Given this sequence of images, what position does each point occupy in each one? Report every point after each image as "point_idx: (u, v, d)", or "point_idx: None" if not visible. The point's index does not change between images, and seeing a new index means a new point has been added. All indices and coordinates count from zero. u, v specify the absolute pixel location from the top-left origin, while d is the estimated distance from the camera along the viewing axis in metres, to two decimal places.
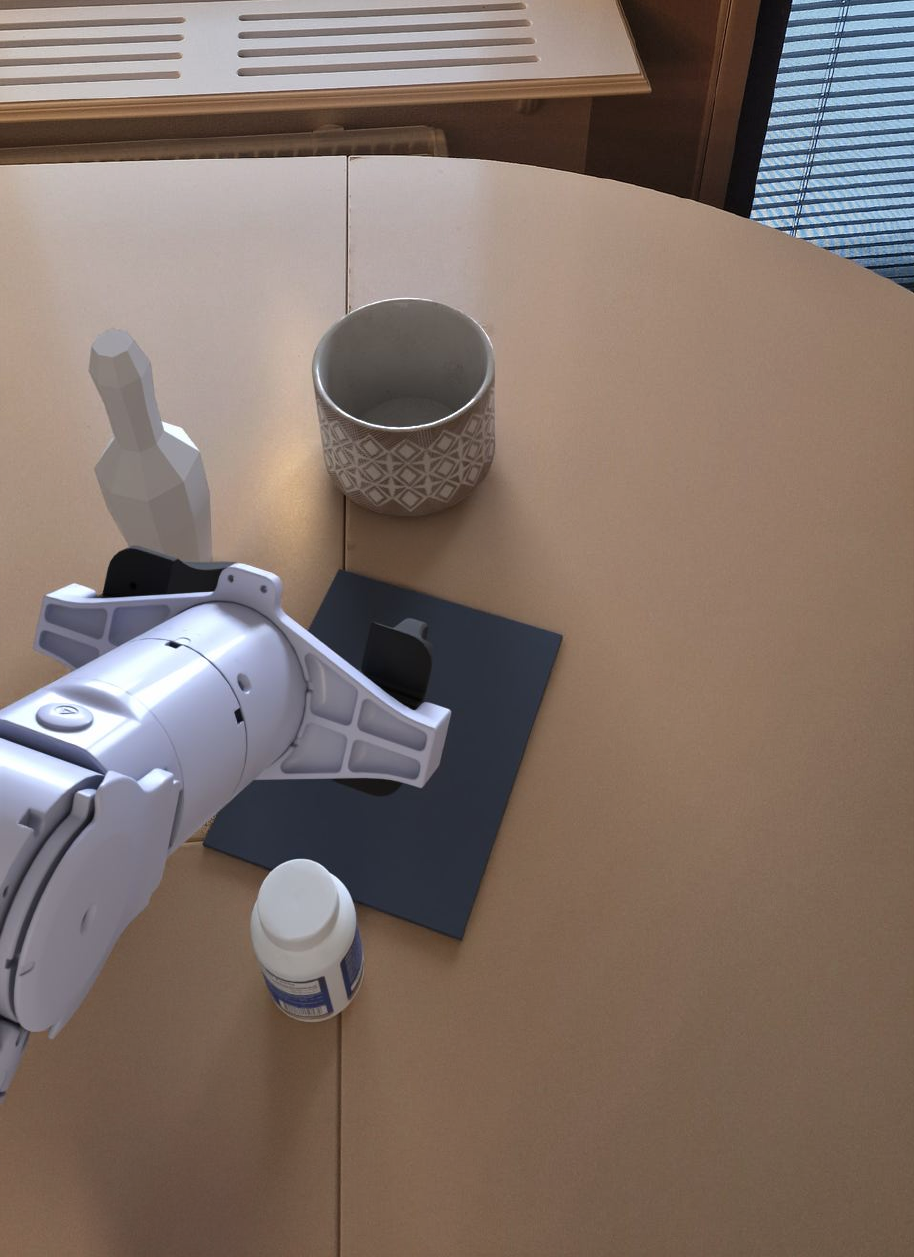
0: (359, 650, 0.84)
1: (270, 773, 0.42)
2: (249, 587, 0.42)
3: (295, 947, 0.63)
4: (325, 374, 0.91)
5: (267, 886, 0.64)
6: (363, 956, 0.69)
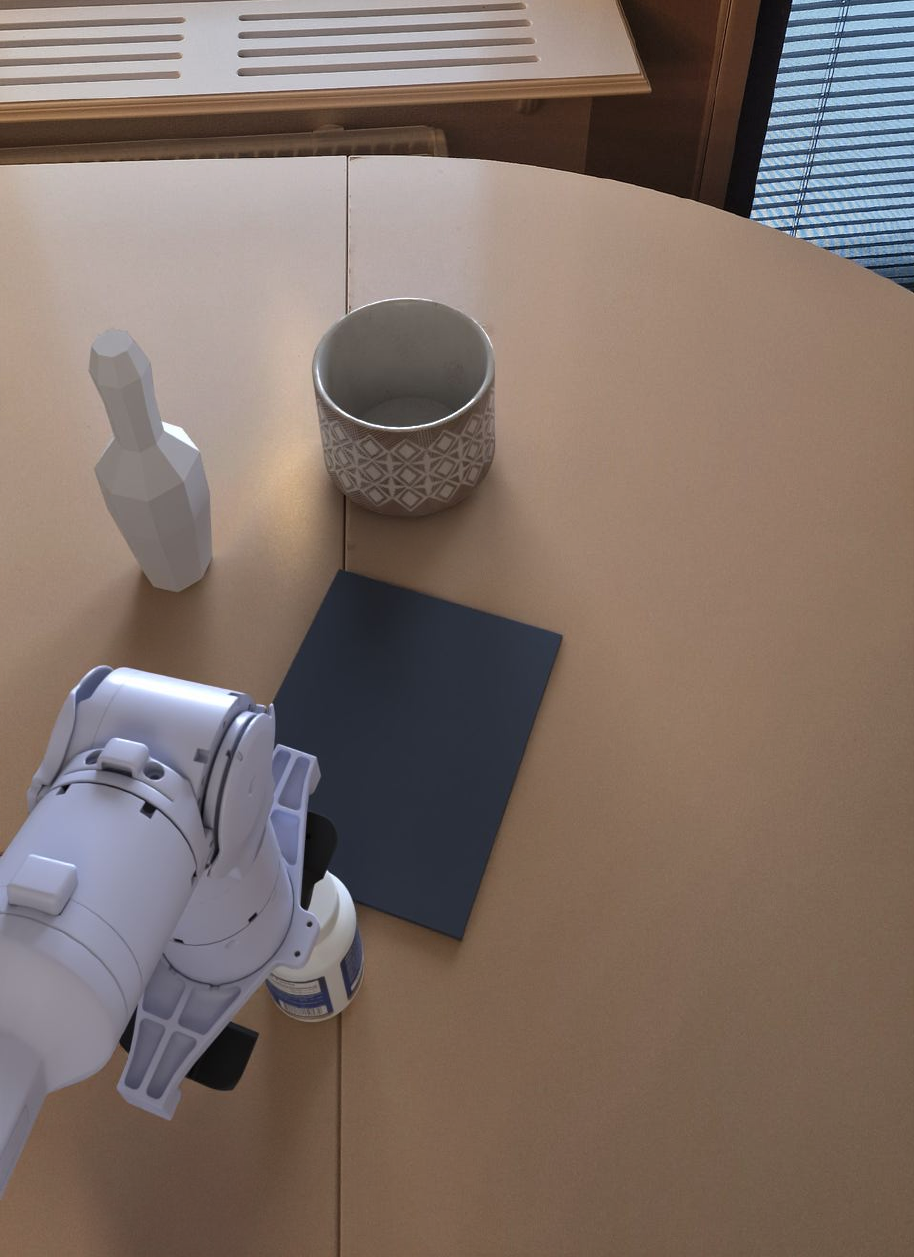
0: (359, 650, 0.84)
1: None
2: (300, 941, 0.53)
3: None
4: (325, 374, 0.91)
5: None
6: (363, 956, 0.69)
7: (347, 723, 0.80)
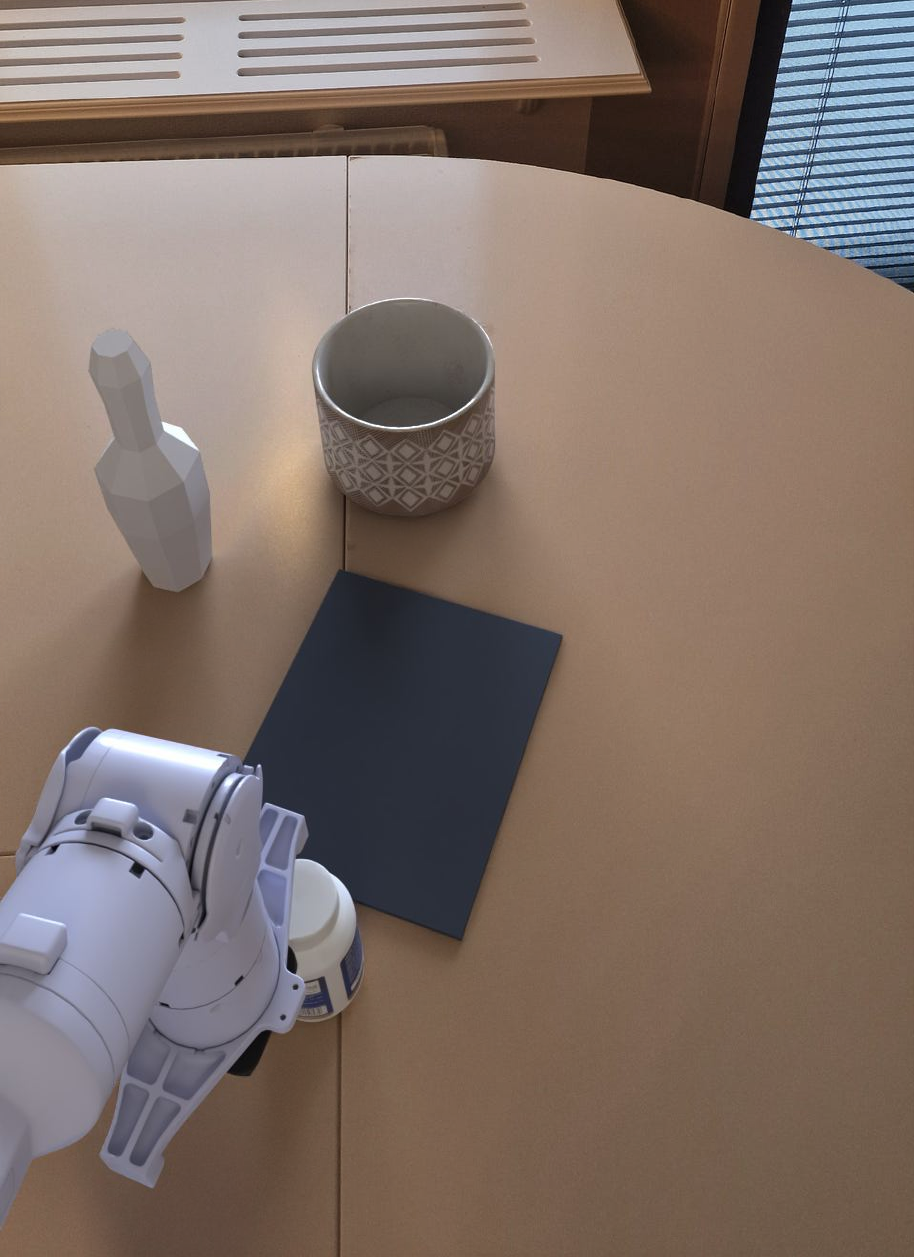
0: (359, 650, 0.84)
1: None
2: (286, 1004, 0.53)
3: (295, 948, 0.63)
4: (325, 374, 0.91)
5: None
6: (363, 956, 0.69)
7: (347, 723, 0.80)
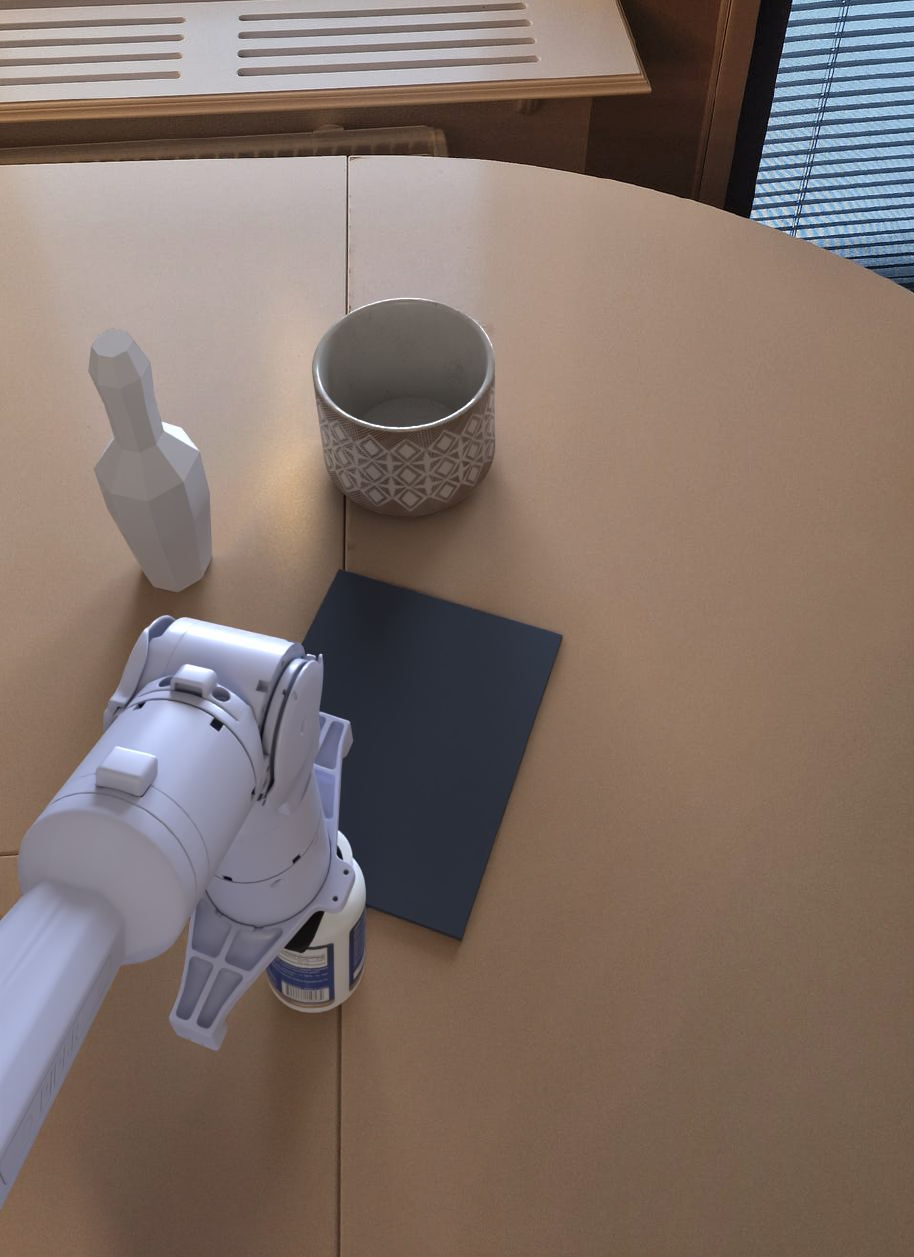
0: (359, 650, 0.84)
1: None
2: (337, 887, 0.57)
3: None
4: (325, 374, 0.91)
5: None
6: None
7: None
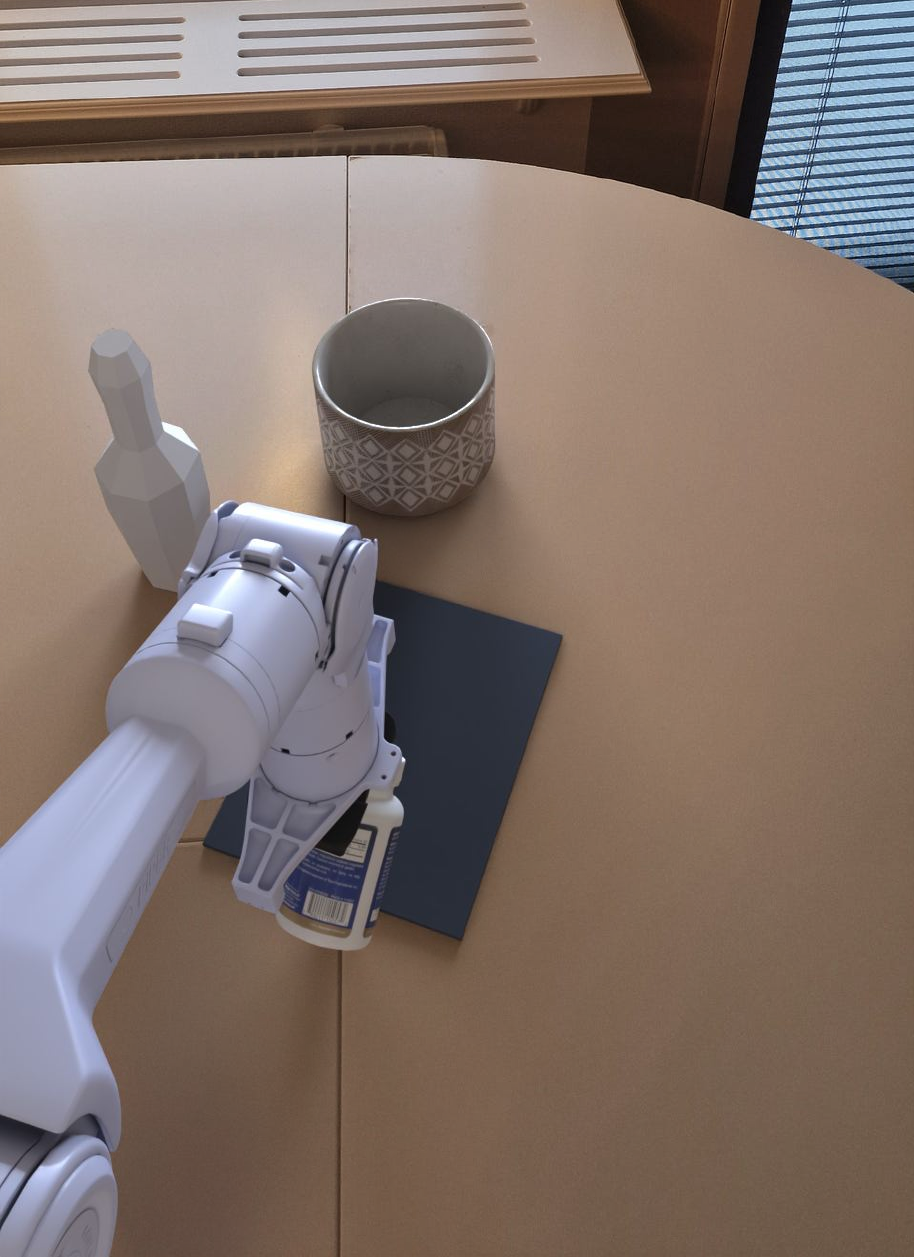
0: None
1: (256, 769, 0.60)
2: (386, 766, 0.60)
3: None
4: (325, 374, 0.91)
5: None
6: None
7: None
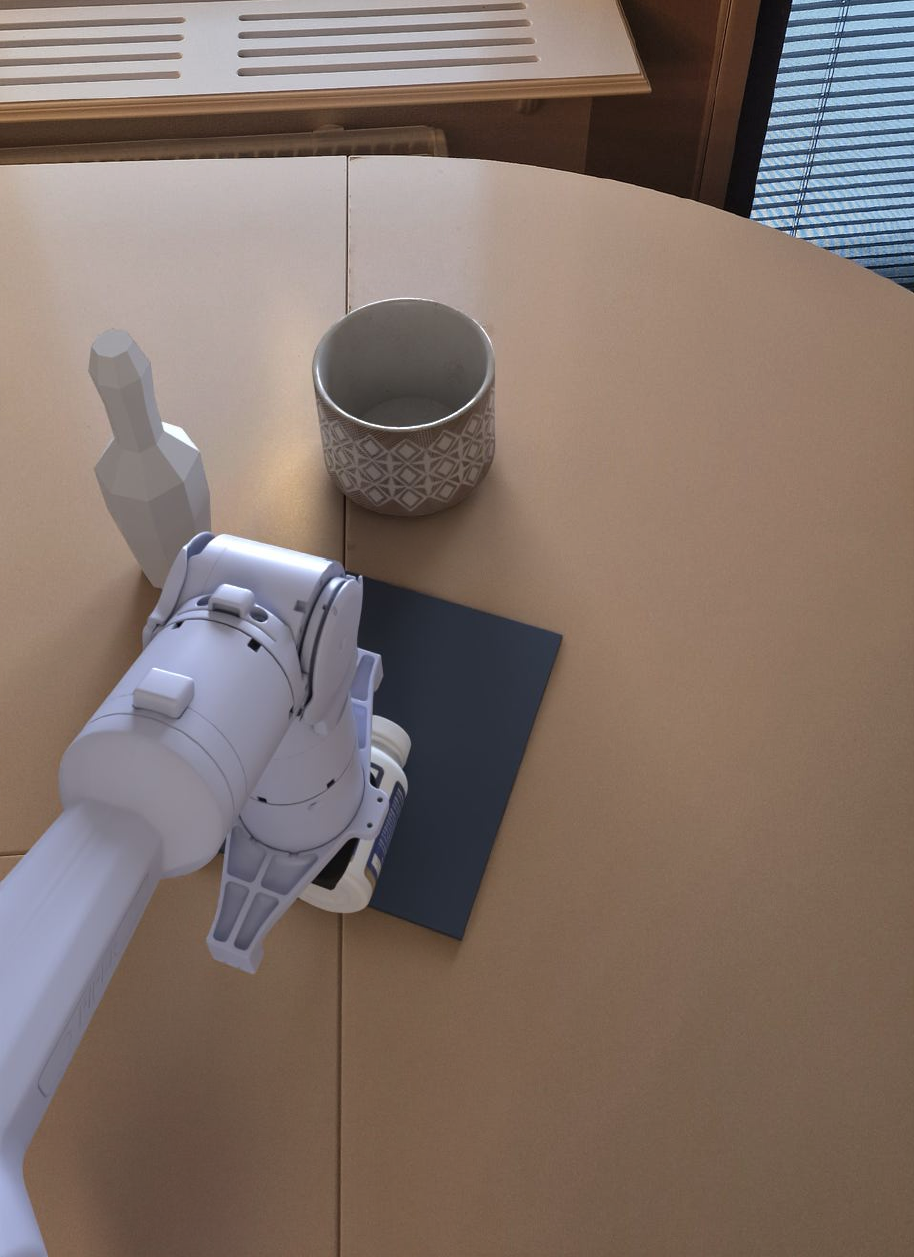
0: None
1: None
2: (372, 814, 0.57)
3: (379, 728, 0.75)
4: (325, 374, 0.91)
5: None
6: None
7: None
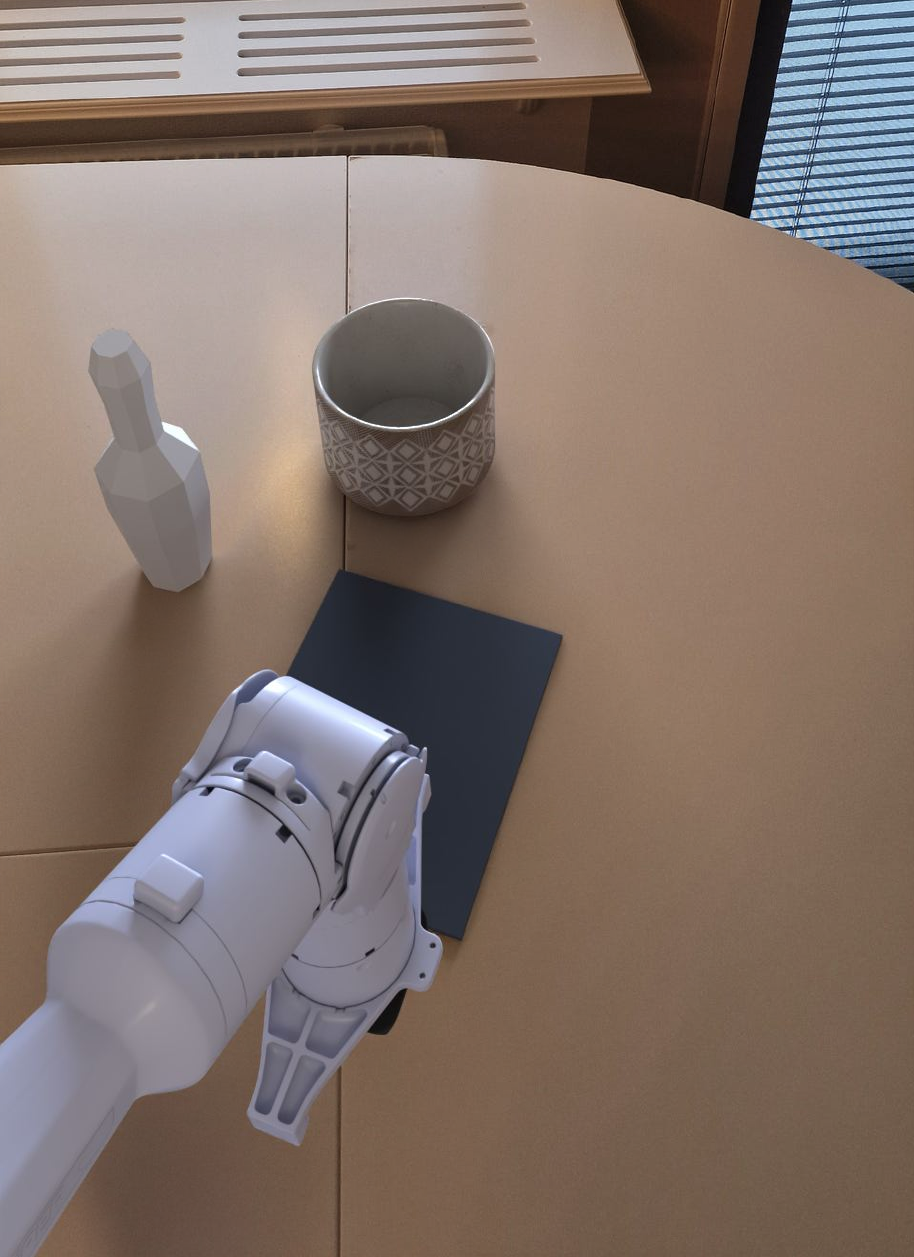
0: (359, 650, 0.84)
1: None
2: (424, 962, 0.52)
3: None
4: (325, 374, 0.91)
5: None
6: None
7: None
